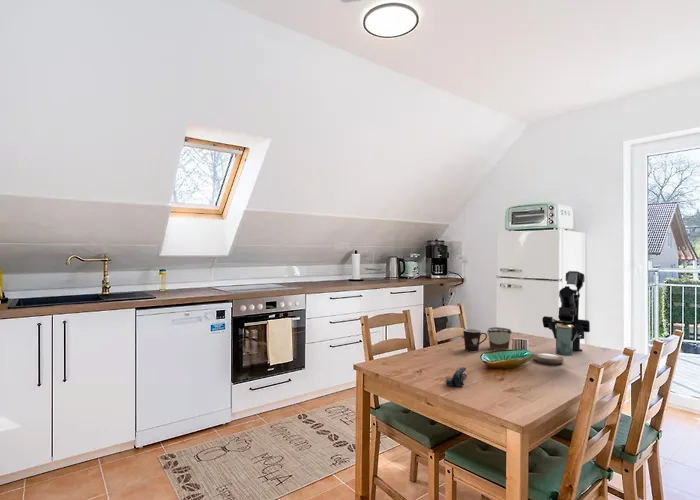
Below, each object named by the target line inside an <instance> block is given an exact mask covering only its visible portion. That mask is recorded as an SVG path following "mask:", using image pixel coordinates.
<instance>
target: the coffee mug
mask: <svg viewBox="0 0 700 500" xmlns="http://www.w3.org/2000/svg"><path fill="white" fill-rule="evenodd" d="M462 332H463V340H464V341H463V342H464V348H465V349H466V350H468V351H467V352H470V351H477V352H479V347H480V345H481V344H482V343H483V342H485V341H486V340H487V338H488V335H487V334H488V333H487V332H482V331H481V330H480V329H476V328H464V329H463V331H462ZM482 335H485V338H484V339H483V340H481V336H482ZM480 340H481V341H480ZM465 349H464V350H465ZM466 350H465V351H466Z"/></svg>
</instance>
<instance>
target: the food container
mask: <svg viewBox="0 0 700 500" xmlns="http://www.w3.org/2000/svg"><path fill="white" fill-rule="evenodd" d="M486 334H488V344H489V349H492V348H501V349H500V350H509V348H510V340H511V334H513V332H512V330H511V329H510V328H507V327H499V326H497V327H496V326H495V327H494V326H493V327H488V329H487V331H486Z"/></svg>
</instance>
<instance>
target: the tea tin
mask: <svg viewBox="0 0 700 500" xmlns="http://www.w3.org/2000/svg"><path fill="white" fill-rule="evenodd" d="M572 336H573V325H571V324H566V323H557V324H556V339H555V354H556V355H559V356H562V357H571V356H573V351H572V347H573V341H572Z"/></svg>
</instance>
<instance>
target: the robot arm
mask: <svg viewBox="0 0 700 500" xmlns="http://www.w3.org/2000/svg"><path fill="white" fill-rule="evenodd" d="M585 281H586V279H585V273H583V272H580V271H579V270H568V271H567V272H566V273H565V282H566V284H565V285H564V286H562V288H561V289H560V290H559V291H558V292H559V293H558V296H559V297H558V298H559V300H560V303H561V305H560V306H559V307H558V319H555V318H554V317H553V316H548V315H544V316H543V317H542V319H541V320H542V325H543V327H544V328H545V329H549V330H551V332H552V334H553V337H554V340H556V324H557V323H566V324H571V325H573V336H572V341H573V347H572V352H573V351H577V352H583V349H582V348H581V340H585V333H589V332H591V323H590V321H589V320H588V319H579V310H580V298H581V294H580V291H581V289H582V288H583V286H584V283H585Z"/></svg>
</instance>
